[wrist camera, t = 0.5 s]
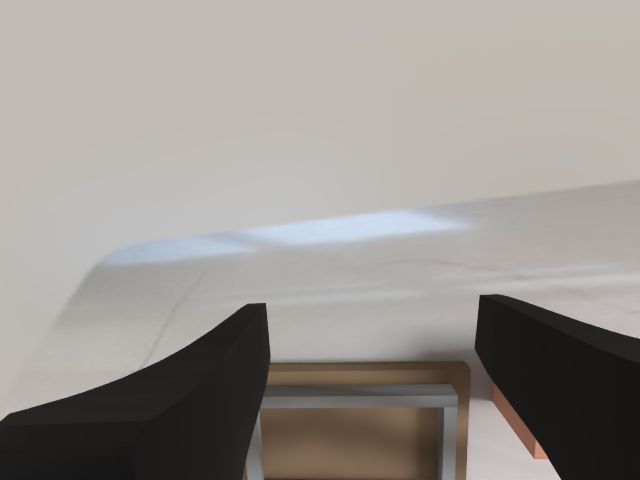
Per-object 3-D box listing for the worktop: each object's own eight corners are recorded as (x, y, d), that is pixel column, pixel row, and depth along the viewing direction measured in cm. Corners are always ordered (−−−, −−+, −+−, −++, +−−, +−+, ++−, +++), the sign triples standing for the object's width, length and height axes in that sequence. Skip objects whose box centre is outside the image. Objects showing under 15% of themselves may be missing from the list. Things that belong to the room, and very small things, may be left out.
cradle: (459, 488, 24) (472, 519, 22) (242, 487, 25) (233, 516, 22) (464, 361, 22) (478, 380, 20) (231, 364, 23) (220, 382, 21)
